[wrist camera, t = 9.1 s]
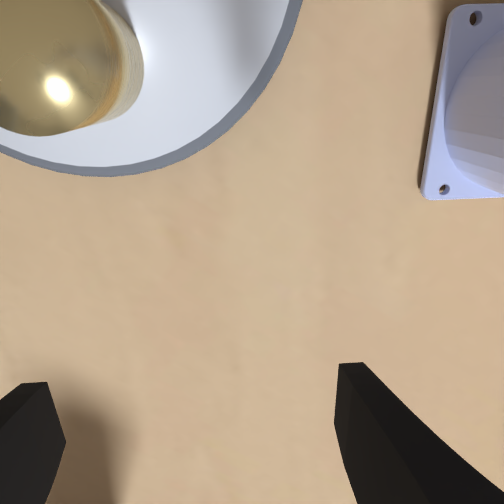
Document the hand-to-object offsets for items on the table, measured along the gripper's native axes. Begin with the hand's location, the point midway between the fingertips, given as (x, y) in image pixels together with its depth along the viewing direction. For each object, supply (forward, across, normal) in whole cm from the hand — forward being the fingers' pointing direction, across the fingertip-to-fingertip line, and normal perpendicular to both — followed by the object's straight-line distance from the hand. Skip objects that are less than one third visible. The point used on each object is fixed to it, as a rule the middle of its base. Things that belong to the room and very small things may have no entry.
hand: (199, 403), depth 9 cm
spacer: (+8, +4, -8) cm, 12 cm away
